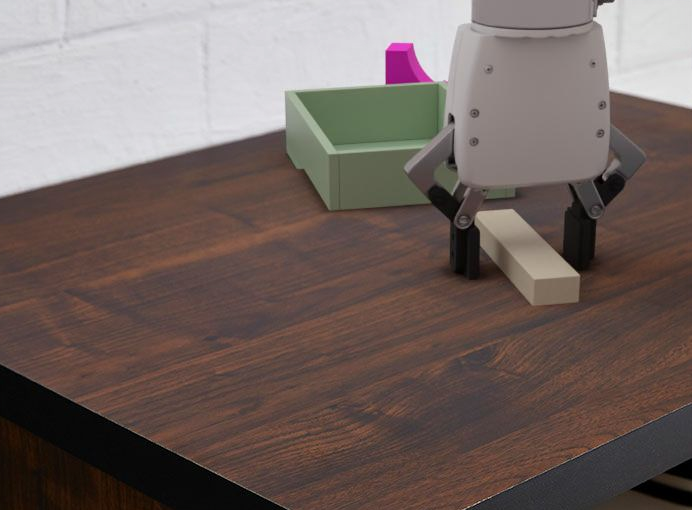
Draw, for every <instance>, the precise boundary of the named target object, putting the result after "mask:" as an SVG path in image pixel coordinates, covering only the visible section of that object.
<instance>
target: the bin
mask: <svg viewBox="0 0 692 510" xmlns="http://www.w3.org/2000/svg"><path fill="white" fill-rule="evenodd" d="M445 81H446V80H445ZM445 81H443V80H439V81H435V82H421V83H404V84H388V85H385V84H375V85H374V84H373V85H357V86H340V87H324V88H323V87H322V88H307V89H294V90H291V89H290V90H285V91H284V111H285V112H284V113H285V115H284V116H285V117H284V118H285V141H286V154H287V155H288V157H289V158H290V160H291V162H292V164H293V165H294V168H295V169H296V170H304V171H305V173H306V174H307V176H308V178H309V180H310V181H311V183H312V184H313V186H314V188H315V189H316V192H317V193H318V194H319V196H320V197H321V199H322V202H323V203H324V204H325V206H326V207H327V209H328V210H329V212H330V211H345V210H357V209H358V210H359V209H372V208H385V207H386V208H387V207H398V206H411V205H425V204H432V203H431V202H430V201H429V200H428V198H427V197H426V196H425V195H424V194H423V193H422V192H421V191H420V190H419V189H418V188H417V187H416V185H415V184H414V183H413V182H412V181H411V180H410V179H409V178H408V177H407V175H406V174H405V172H404V166H405V165H406V163H407V162H408V161H409V160H411V159H412V158H413V157H414V156H415V155H416V154H417V153H418V152H419V151H420V150H421V149H422V148H423V147H425V146H426V145H427V144H428V143H429V142H430V141H431V140H432V139H433V138H434V137H435V136H436V135H438V134H439V133H440V132H441V131H442V130H443V125H444V114H445V104H446V94H447V85H448V84H447V83H446V82H445ZM434 177H435V179H436V180H437V181H438V182H439V184H440V185H442V186H443V187H444V188H445V189H446V190H447V191H448V192H449V193H450V194H451V192H452V190H453V188H454V186H455V184H456V182H457V180H458V178H459V177H458V173H457V172H453V171H451V170H449V169H448V168H446V166H445V165H444V162H443V163H442V164H441V165H440V166H439V167H438V168H436V170H435V171H434ZM515 197H516V188H501V189H489V191H488V193H487V195H486V197H485V199H484V200H490V199H491V200H492V199H505V198H515Z"/></svg>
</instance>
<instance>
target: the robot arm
mask: <svg viewBox="0 0 692 510" xmlns="http://www.w3.org/2000/svg"><path fill="white" fill-rule="evenodd" d="M615 1H616V0H471V5H470V6H471V11H470V22H468V23H462V24H459V25H458V26H457V29H456V33H455V37H454V42H453V46H452V52H451V56H450V64H449V69H448V77H447V82H448V85H447V94H446V104H445V114H444V125H443V130H442V131H441V132H440V133H439V134H438V135H436V136H435V137H434V138H433V139H432V140H431V141H430V142H429V143H428V144H427V145H426V146H425V147H423V148H422V149H421V150H420V151H419V152H418V153H417V154H416V155H415V156H414V157H413V158H412V159H411V160H409V161H408V162H407V163H406V165H405V166H404V172H405V174H406V175H407V177H408V178H409V179H410V180H411V181H412V182H413V183H414V184H415V185H416V187H417V188H418V189H419V190H420V191H421V192H422V193H423V194H424V195H425V196H426V197H427V198H428V200H429V201H430V202H431V203H430V204H432V206H434V207H435V208H436V209H437V210H438V211H440V213H441V214H443V216H445V217H446V218H447V219H448V220H449V222H450V223H449V226H450V227H449V265H450V268H451V269H452V271H453V272H458V271H459V272H460V271H461V272H462V273H463V275H465V277H466V278H467V279H468V280H469V281H473V280H478V279H480V260H481V259H480V257H481V246H480V230H479V229H478V227H477V226H476V225H475V216H476V214H477V212H479V210H480V208H481V207H482V205H483V203H484V201H485V200H486V199H485V197H486V195H487V193H488V191H489V189H501V188H515V189H516V188H529V187H542V186H554V185H556V186H557V185H565V187H566V189H567V191H568V193H569V195H570V198H571V200H572V202H571V206H566V210H565V211H564V220H563V239H562V258H563V259H564V260H565V261H566V262H567V263H568V264H569V265H570V266H571V267H573V268H574V269H575V270H576V271H589V261H592V260H594V258H595V253H596V239H597V238H596V237H597V223H598V222H597V221H598V219H601V218H602V217H603V215H604V214H605V211H606V207H607V206H608V205H609V204H610V203H611V202H612V201H613V200H614V199H616V197H617V196H618V195H619V194H620V193H621V192H622V191H623V190H624V189H625V186H626V183H627V181H628V180H631V178H632V177H633V176H634V175H635V174H636V173H637V171H638V170H639V169H640V168H641V167H642V166H643V164H645V162H646V160H647V154H646V152H645V151H644V150H643V149H641V148H640V146H638V145H637V144H636V143H635V142H633V141H632V140H631V139H630V138H629V137H628V136H627V135H626V134H624V133H623V132H622V130H620V129H619V128H617V127H616V126H615V125H614V124H613V123H612V122H611V104H610V103H611V102H610V101H611V99H610V97H611V96H610V78H609V68H608V58H607V49H606V41H605V35H604V31H603V30H604V29H603V26H602V24H600V23H599V22H597V21H596V20H594V18H597V16H598V9H599V7H601V6H604V4H611V3H612V4H613V3H614V2H615ZM610 150H611V151H612V152H613V154H614V157H613V159H612V161H611V163H610V165H609V166H608V167H607V165H608V160H609V152H610ZM443 162H444V165H445V166H446V168H448V169H449V170H451V171H453V172H457V173H458V177H459V178H458V180H457V182H456V184H455V186H454V188H453V190H452V192H451V194H450V193H449V192H448V191H447V190H446V189H445V188H444V187H443V186H442V185H440V184H439V182H438V181H437V180H436V179H435V177H434V171H435V170H436V168H438V167H439V166H440V165H441V164H442V163H443Z"/></svg>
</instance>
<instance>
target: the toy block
mask: <svg viewBox="0 0 692 510" xmlns="http://www.w3.org/2000/svg"><path fill="white" fill-rule="evenodd" d="M384 54H385V56H384V57H385V59H384V62H385V63H384V64H385V66H384V67H385V71H384V73H385V75H384V76H385V78H384V79H385V82H384V83H385V84H384V85H388V84H404V83H421V82H436V81H435V80H433V79H432V78H431V77H430V75H428V73H426V71H425V70H424V69H423V67H422V65H421V64H420V62H419V60H418V57H417V55H416V51H415V46H414V43H413V42H391V43H390V45H388V46H387V48H386V49H385V53H384ZM442 81H445V82H446V83H447V84H448V80H447V81H446V79H443V80H442Z"/></svg>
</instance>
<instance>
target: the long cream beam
mask: <svg viewBox="0 0 692 510" xmlns="http://www.w3.org/2000/svg"><path fill="white" fill-rule="evenodd" d="M475 225H476V226H477V227H478V229H479V230H480V248H481V249H482V250H483V251H484V252H485V253H486V254H487V256H489V258H490V259H491V260H492V261H493V262H494V264H495V265H496V266H497V267H498V268H499V269H500V270H501V271H502V273H503V274H504V275H505V277H507V279H509V281H510V282H511V283H512V284H513V285H514V286H515V288H516V289H517V290H518V291H519V292H520V294H522V296H523V297H524V298H525V299H526V300H527V301H528V302H529V303H530V305H531V306H532V307H540V306H548V305H549V306H550V305H561V304H563V305H564V304H575V303H579V302H580V286H581V285H580V284H581V275H580V274H579V273H578V272H577V270H576V269H575V268H574V267H573V266H572V265H571V264H570V263H569V262H568V261H567V260H566V259H565V258H564V257H563V256H561V255H560V254H559V252H557V251H556V249H554V248H553V247H552V246H551V245H550V244H549V243H548V242H547V241H546V240H545V239H544V238H543V237H542V236H541V235H540V234H539V232H537V231H536V230H535V229H534V228H533V227H532V226H531V225H530V224H529V223H528V222H527V221H525V219H524V218H523V217H522V216H521V215H520V214H519V213H517V211H516V210H514V209H513V208H508V209H507V208H506V209H494V210H481V211H479V210H478V212H477V214H476V216H475Z"/></svg>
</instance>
